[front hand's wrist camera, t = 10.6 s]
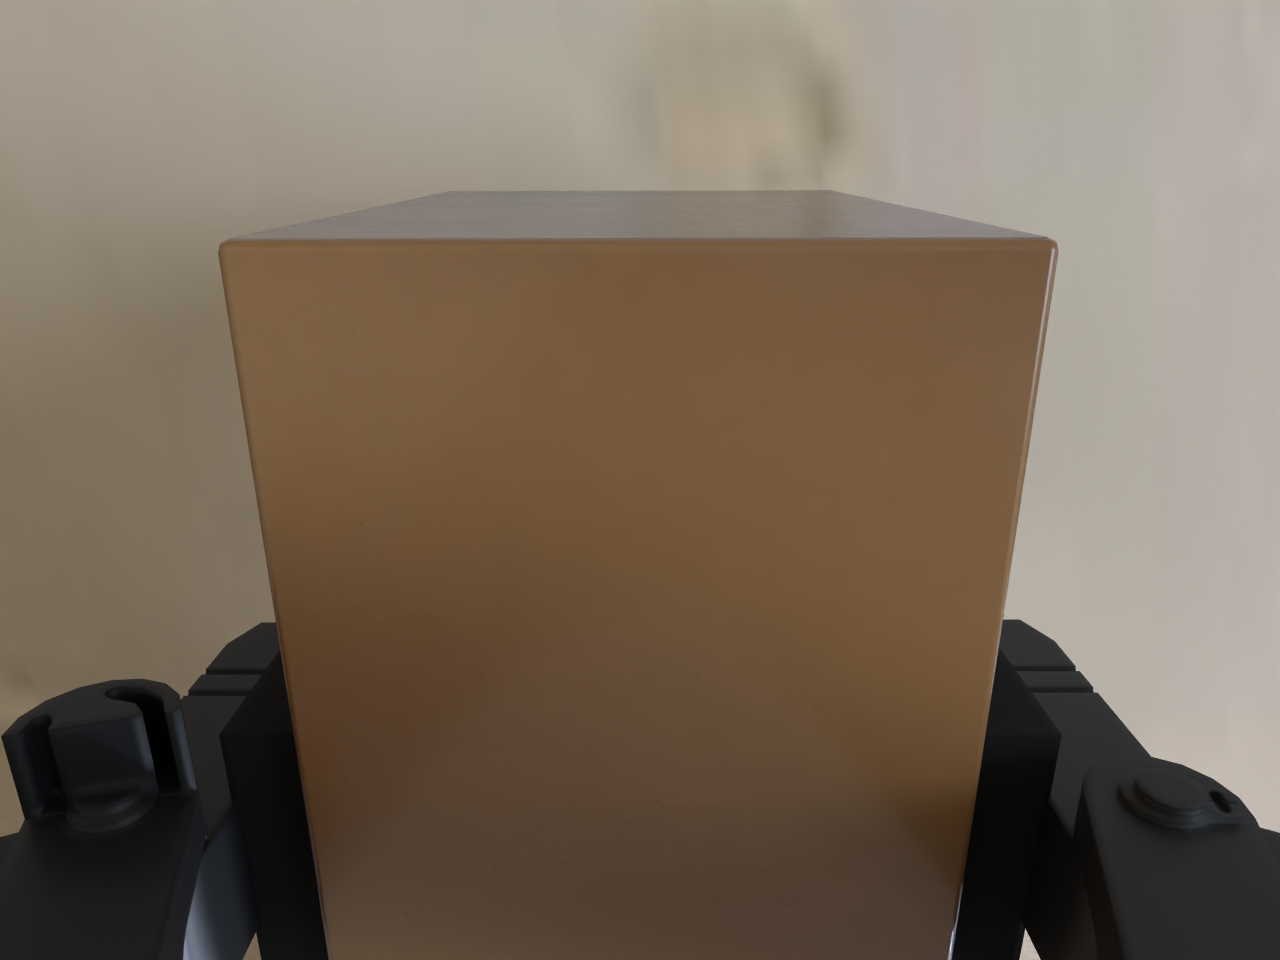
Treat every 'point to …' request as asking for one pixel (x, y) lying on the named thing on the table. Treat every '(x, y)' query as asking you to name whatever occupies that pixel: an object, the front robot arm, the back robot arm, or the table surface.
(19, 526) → the table surface
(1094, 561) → the table surface
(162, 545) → the table surface
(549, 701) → the post
